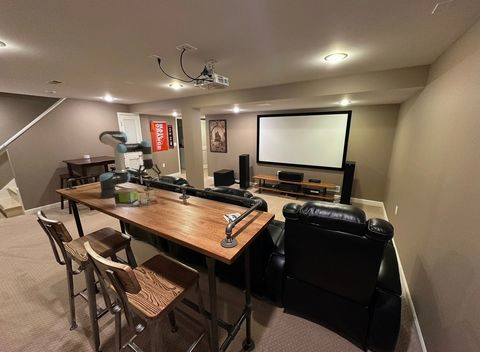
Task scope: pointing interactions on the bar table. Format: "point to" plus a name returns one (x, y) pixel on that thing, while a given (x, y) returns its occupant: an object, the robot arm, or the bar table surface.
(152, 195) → the beige wooden block
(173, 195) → the bar table surface
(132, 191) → the tea box
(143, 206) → the grey brown flat frame
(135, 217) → the bar table surface
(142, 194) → the tan block
